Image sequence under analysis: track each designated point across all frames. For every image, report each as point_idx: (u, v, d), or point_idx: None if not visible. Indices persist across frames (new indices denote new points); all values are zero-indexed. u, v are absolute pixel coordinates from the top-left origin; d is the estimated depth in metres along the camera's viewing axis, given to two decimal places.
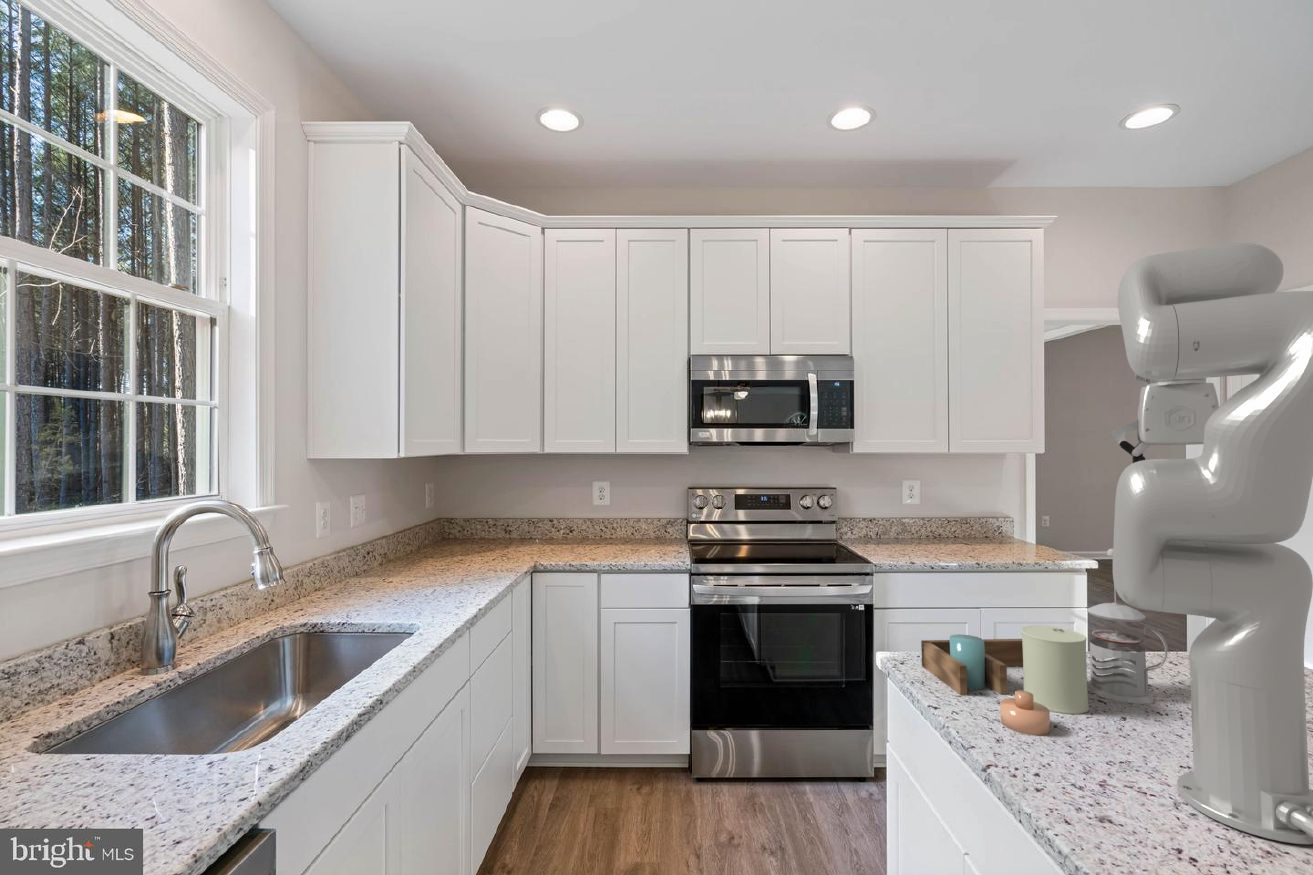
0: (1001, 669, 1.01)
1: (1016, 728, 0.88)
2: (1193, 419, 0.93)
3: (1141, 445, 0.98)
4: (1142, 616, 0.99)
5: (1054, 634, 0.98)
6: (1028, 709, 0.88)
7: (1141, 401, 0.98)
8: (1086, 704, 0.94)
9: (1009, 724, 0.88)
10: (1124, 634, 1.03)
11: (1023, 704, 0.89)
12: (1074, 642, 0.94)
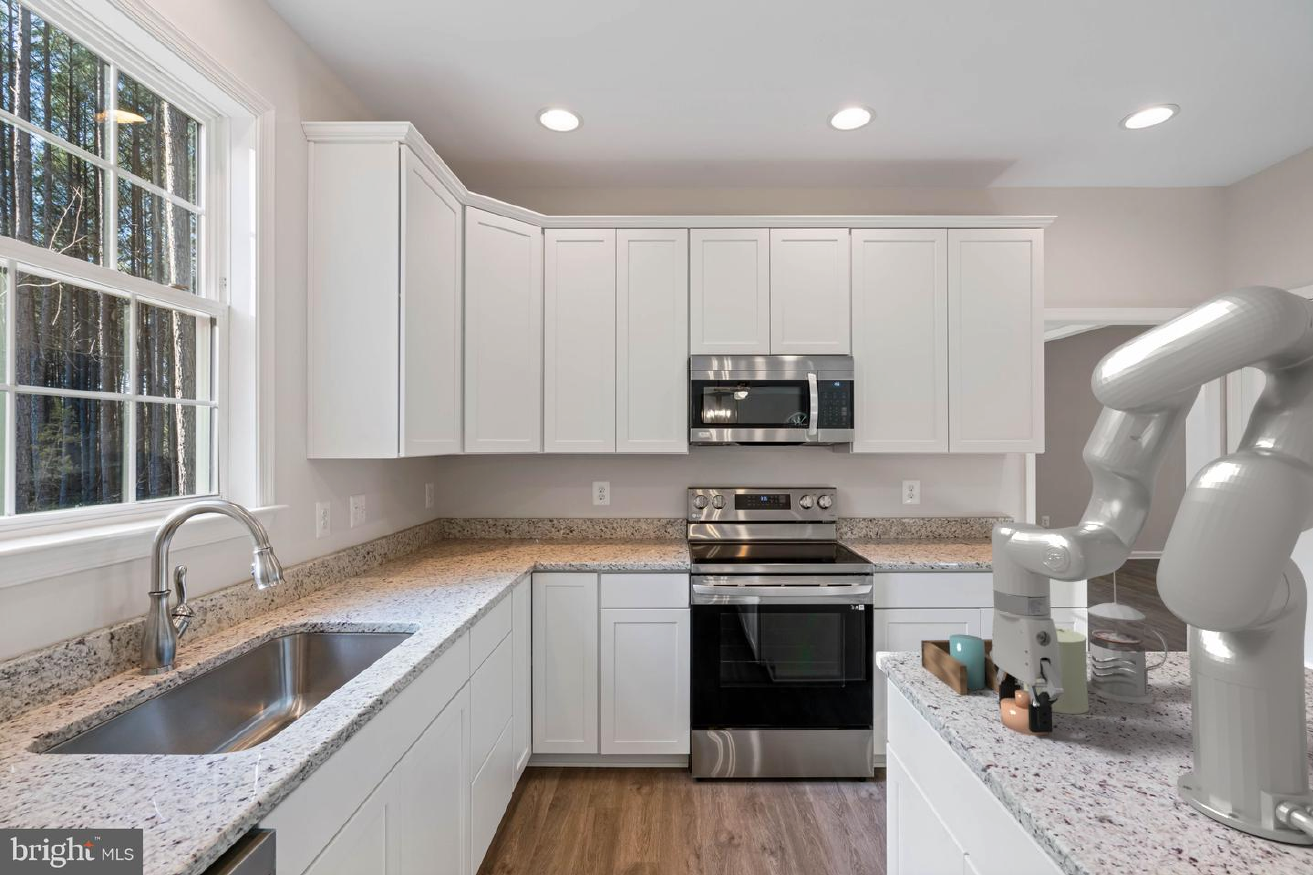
0: None
1: (1016, 727, 0.88)
2: None
3: None
4: (1142, 616, 0.99)
5: None
6: None
7: (1055, 637, 0.85)
8: (1086, 704, 0.94)
9: (1009, 723, 0.88)
10: (1124, 634, 1.03)
11: (1023, 703, 0.89)
12: (1074, 642, 0.94)
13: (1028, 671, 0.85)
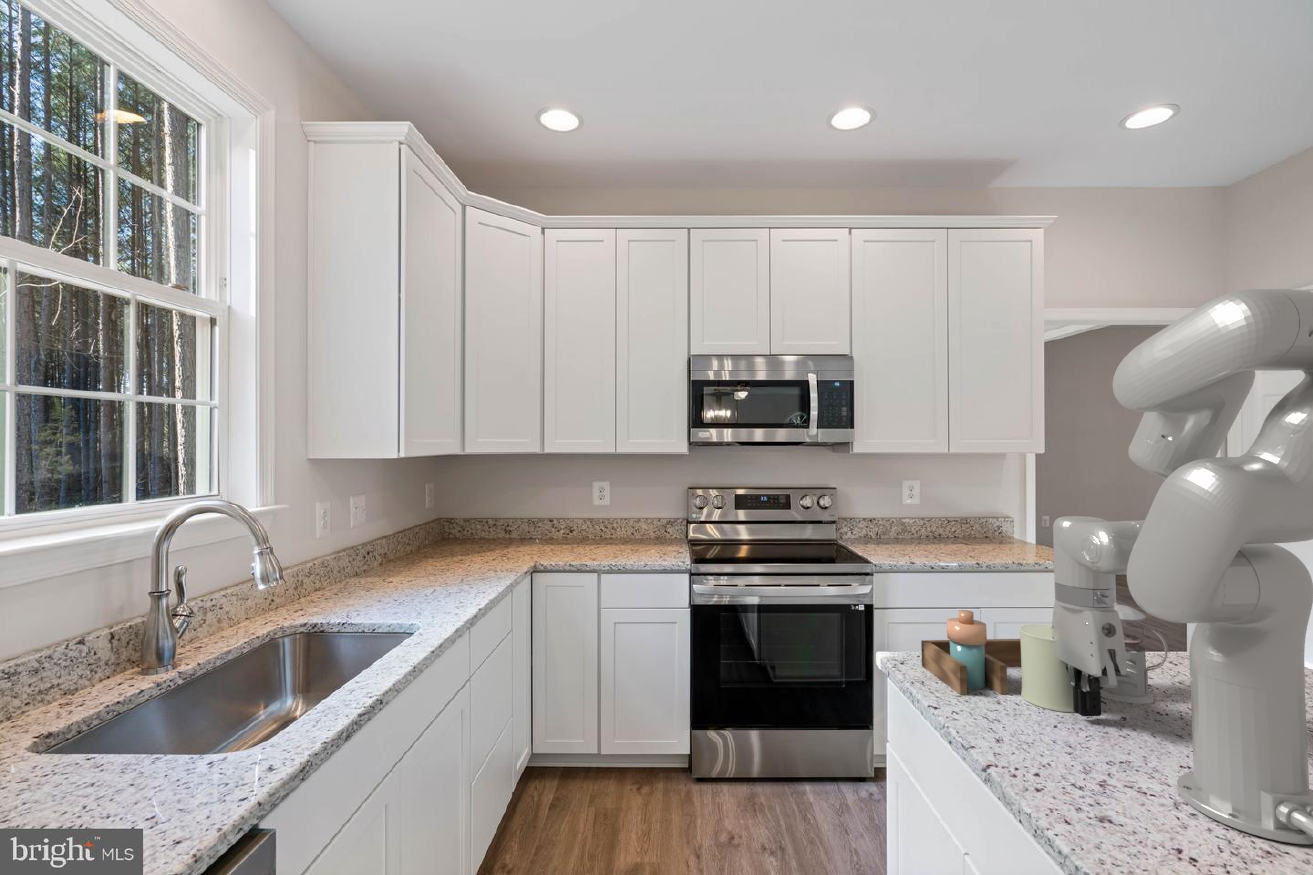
0: (1001, 669, 1.01)
1: (958, 639, 1.04)
2: None
3: None
4: (1142, 616, 0.99)
5: None
6: (968, 624, 1.05)
7: (1120, 629, 0.86)
8: None
9: (952, 636, 1.05)
10: (1124, 634, 1.03)
11: (964, 620, 1.05)
12: None
13: (1093, 662, 0.86)
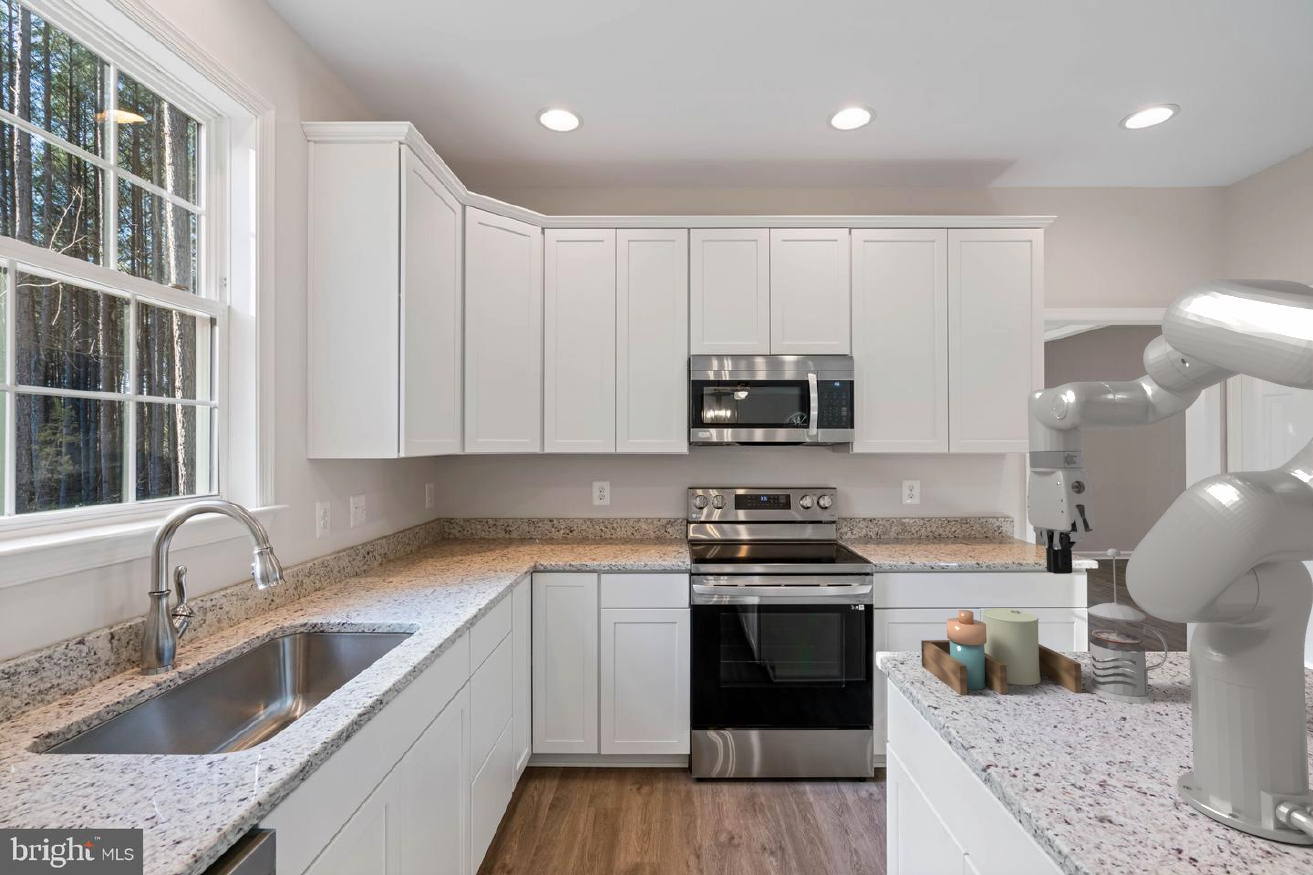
0: (1001, 669, 1.01)
1: (957, 639, 1.04)
2: None
3: None
4: (1142, 616, 0.99)
5: (1010, 615, 1.09)
6: (968, 624, 1.05)
7: (1088, 486, 0.92)
8: (1037, 677, 1.06)
9: (952, 636, 1.05)
10: (1124, 634, 1.03)
11: (964, 620, 1.05)
12: (1026, 621, 1.05)
13: (1064, 518, 0.92)
